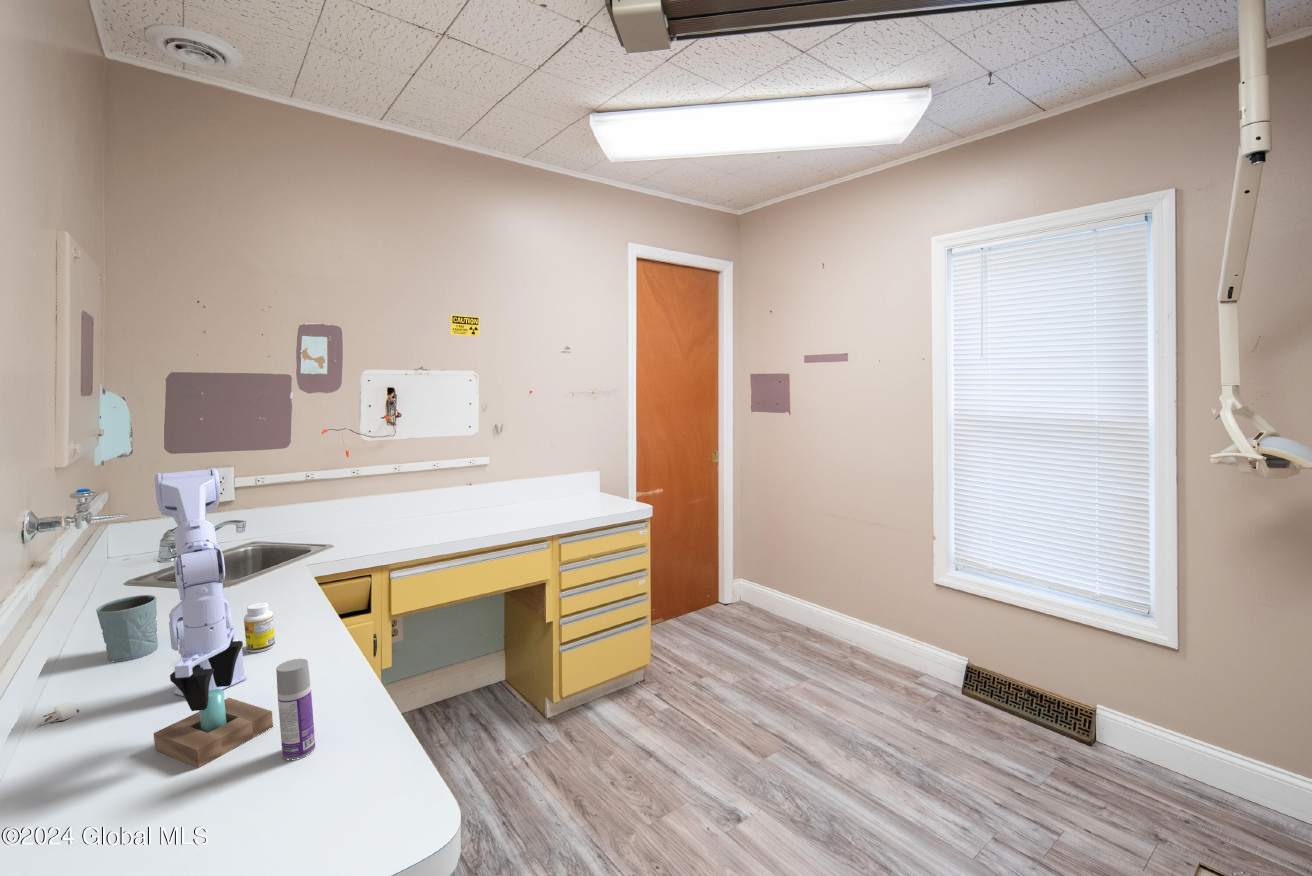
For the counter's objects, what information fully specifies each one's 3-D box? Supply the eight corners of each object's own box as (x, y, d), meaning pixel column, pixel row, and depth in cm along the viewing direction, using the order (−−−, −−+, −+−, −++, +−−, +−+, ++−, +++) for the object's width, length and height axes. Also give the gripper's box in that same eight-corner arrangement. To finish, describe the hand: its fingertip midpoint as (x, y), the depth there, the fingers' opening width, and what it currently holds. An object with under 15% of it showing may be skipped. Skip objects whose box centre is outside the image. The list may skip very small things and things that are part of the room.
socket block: (230, 712, 111) (229, 697, 111) (273, 727, 106) (271, 711, 106) (155, 750, 100) (153, 733, 100) (199, 767, 95) (197, 749, 95)
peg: (210, 733, 105) (206, 689, 104) (232, 731, 105) (227, 688, 104) (197, 745, 101) (193, 700, 100) (220, 743, 101) (215, 699, 101)
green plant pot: (172, 644, 141) (167, 595, 139) (131, 665, 131) (125, 612, 129) (133, 643, 142) (128, 594, 140) (89, 663, 132) (83, 611, 130)
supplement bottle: (246, 647, 139) (242, 604, 138) (274, 640, 142) (271, 599, 141) (246, 656, 134) (243, 612, 133) (276, 649, 137) (272, 606, 136)
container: (310, 739, 102) (304, 655, 101) (319, 751, 99) (312, 664, 97) (279, 751, 99) (272, 665, 98) (286, 764, 96) (279, 674, 94)
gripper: (203, 606, 107) (209, 678, 109) (149, 641, 93) (158, 723, 95) (246, 603, 109) (252, 674, 110) (200, 637, 94) (207, 718, 96)
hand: (212, 697), depth 102 cm, fingers open, 7 cm apart
